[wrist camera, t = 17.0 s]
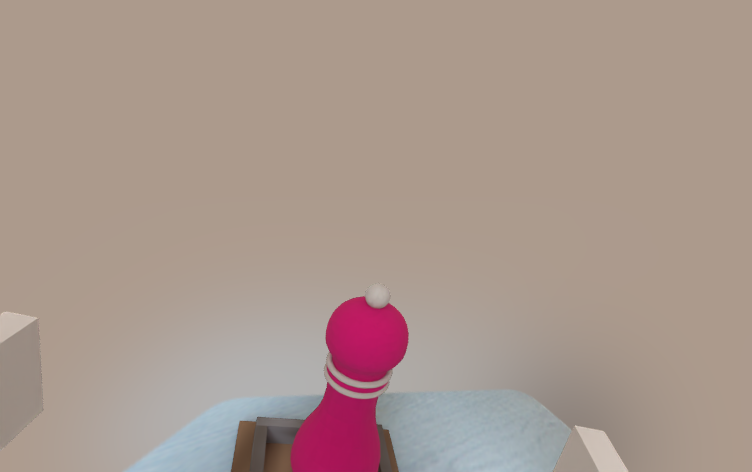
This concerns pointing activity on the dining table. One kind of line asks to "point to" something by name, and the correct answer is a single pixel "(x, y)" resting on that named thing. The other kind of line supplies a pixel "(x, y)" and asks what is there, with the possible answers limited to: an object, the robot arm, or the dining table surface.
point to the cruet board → (285, 446)
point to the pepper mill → (352, 386)
